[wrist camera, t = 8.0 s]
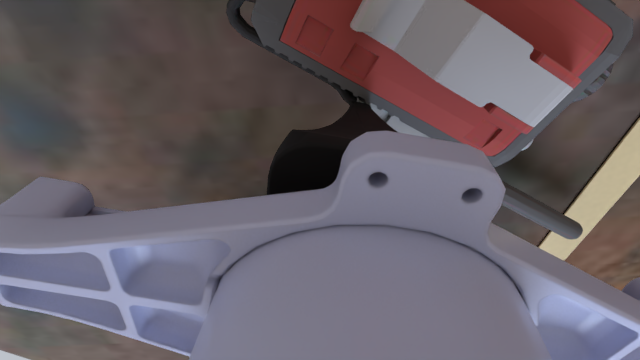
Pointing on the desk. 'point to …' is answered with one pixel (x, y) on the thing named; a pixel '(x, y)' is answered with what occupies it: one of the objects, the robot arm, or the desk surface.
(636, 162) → the tape line
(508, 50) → the walkie-talkie
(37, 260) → the robot arm
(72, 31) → the desk surface
